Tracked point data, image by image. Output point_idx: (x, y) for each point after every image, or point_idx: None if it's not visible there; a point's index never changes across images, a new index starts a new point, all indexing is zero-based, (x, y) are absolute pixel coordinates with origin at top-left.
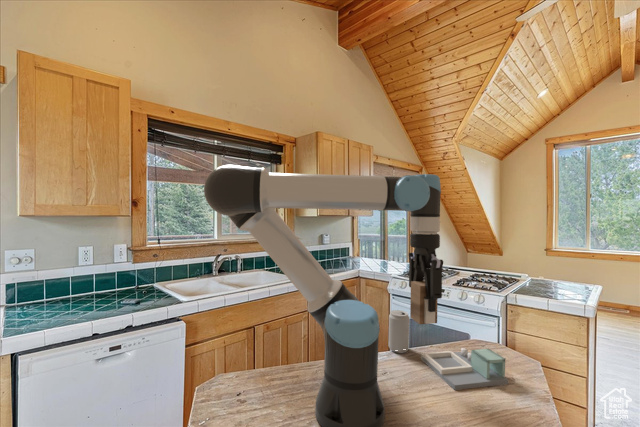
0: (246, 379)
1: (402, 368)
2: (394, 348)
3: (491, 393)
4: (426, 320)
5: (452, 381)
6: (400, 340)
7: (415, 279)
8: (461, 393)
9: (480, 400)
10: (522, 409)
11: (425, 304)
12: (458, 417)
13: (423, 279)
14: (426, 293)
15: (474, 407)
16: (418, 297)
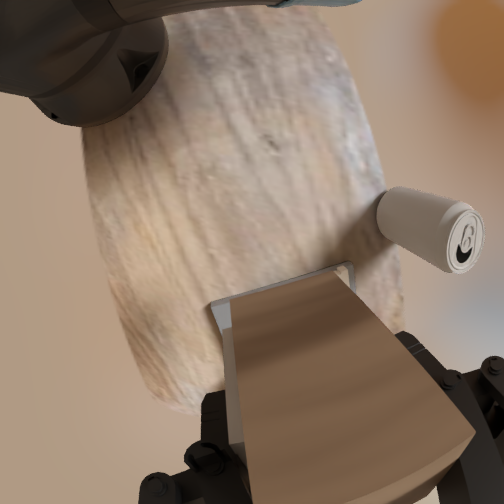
0: None
1: (300, 198)
2: (385, 198)
3: (211, 362)
4: (223, 343)
5: (227, 307)
6: (394, 219)
7: (467, 468)
8: (200, 311)
9: (182, 337)
10: (172, 384)
11: (231, 407)
12: (116, 278)
13: (438, 495)
14: (234, 483)
15: (155, 318)
16: (269, 410)
